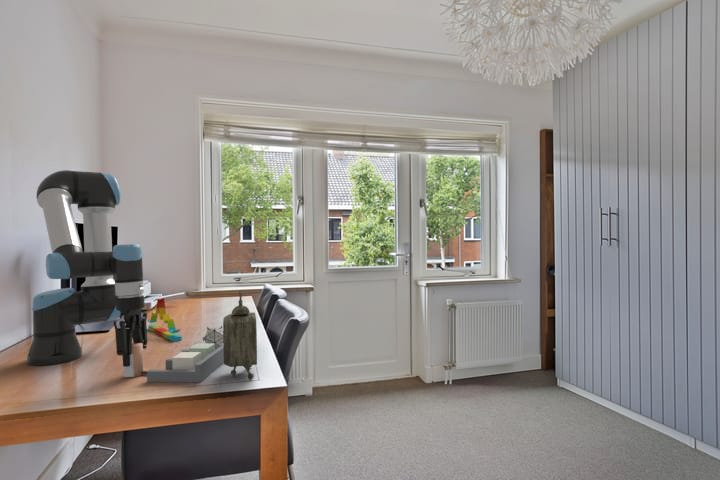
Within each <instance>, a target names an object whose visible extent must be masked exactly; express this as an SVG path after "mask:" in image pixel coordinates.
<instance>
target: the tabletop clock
mask: <svg viewBox="0 0 720 480" xmlns="http://www.w3.org/2000/svg"><path fill="white" fill-rule="evenodd" d="M238 293H239V300H238V305H237V306H235V307H234V308H233V309H232V311H231V313H229V314H227V315H226V316H224V317H223V321H222V331H223V350H224V363H223V365H225V366H226V367H230V368H232V370H231V371H230V375H231V376H236V374H237V370H236V369H237V367H243V368H244V369H245V371H246V372H247V378H248V379H249V380H252V379H254V373H251V371H250V369H251V368H252V367H253V366H255V365H258V338H257V337H258V336H257V335H258V334H257V333H258V332H257V331H258V330H257V327H258V326H257V316H256V312H251V311H250V309H249V308H248V306H246V305H243V300H242V298H243V297H242V295H243V294H242V290H239V292H238Z"/></svg>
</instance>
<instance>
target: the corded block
mask: <svg viewBox="0 0 720 480" xmlns="http://www.w3.org/2000/svg"><path fill="white" fill-rule="evenodd" d="M131 354H133V360H134V377H133V378H136V377H140V376H143V375H146V376H147V371H148V370H144V371H143V363H144V349H143V344H142V343H133V342H132V348H131ZM171 359H172V370H195V364H197V363H198V362H199V361H201V352H182V351H181V352H179V353H177V354H176V355H174V356H173V357H172V358H171Z"/></svg>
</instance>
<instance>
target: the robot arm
mask: <svg viewBox="0 0 720 480" xmlns="http://www.w3.org/2000/svg"><path fill="white" fill-rule="evenodd" d="M36 190H37V191H36V201H37V202H36V203H37V204H38V206H39V207H40V208H41V209H42V211H43V212H42V213H43V216H44V220H45V226H46V230H47V231H46V232H47V235H48V239H49V243H50V248H51V253H48V254H47V255H46V258H45V270H46V275H47V277H48V279H50V280H68V279H69V280H70V279H77V278H85V281H84V282H83V283H82V284H81V285H80V290H79V291H76V290H75V288H73V287H66V288H57V289H52V290H51V289H50V290H47V291H44V292H40V293H38V294H35V295H34V297H33V298H32V307H31V311H32V332H33V333H32V334H33V335H32V337H33V338H32V342H31V344H30V348H29V350H28V353H27V355H26V362H27V364H28V365H31V366H49V365H50V366H51V365H57V364H63V363H66V362H71V361H74V360H77V359H80V357H81V358H82V355H83V348H82V347H81V344H80V342H79V339H78V337H77V333H76V326H79V325H89V324H95V323H103V322H106V323H107V322H108V321H109V322H110V321H113V327H114V331H115V333H114V334H115V346H116V347H115V349H116V355H117V356H119V357H120V356H122V368H123V378H135V377H134V360H133V354H131V348H132V343H142V344H143V350H144V349H147V347H148V346H147V345H148V333H147V331H148V328H147V326H148V325H147V319H148V313H147V312H142V310H141V309H143V308H145V306H146V305H145V296H144V295H143V294H144V293H145V289H144V288H145V284H144V272H143V271H144V270H143V269H144V268H143V252H142V247H141V245H140V244H139V243H133V244H130V243H129V244H116V245H113V243H112V242H113V239H112V238H113V237H112V217H111V214H112V213H113V212H114V211H115V210H116V207H117V206H119V204H120V202H121V190H120V186H119V182H118V180H117V178H116V177H115V176H114V175H113V174H109V173H103V172H99V171H98V172H93V171H92V172H91V171H79V170H69V169H68V170H67V169H65V170H64V169H63V170H59V171H55V172H53V173H51V174H49V175H48V176H46V177H45V178H44V179H43V180H42V181H41V182H40V183H39V185H38V187H37V189H36ZM71 205H77V210H78V212H80V213H81V214H82V221H83V246H82V243H81V239H80V236H79V233H78V232H79V231H78V228H77V225H76V221H75V217H74V214H73V210H72V206H71ZM83 247H84V250H83ZM117 319H118V320H117ZM144 365H145V364H144V362H143V371H145V368H144V367H145V366H144Z"/></svg>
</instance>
